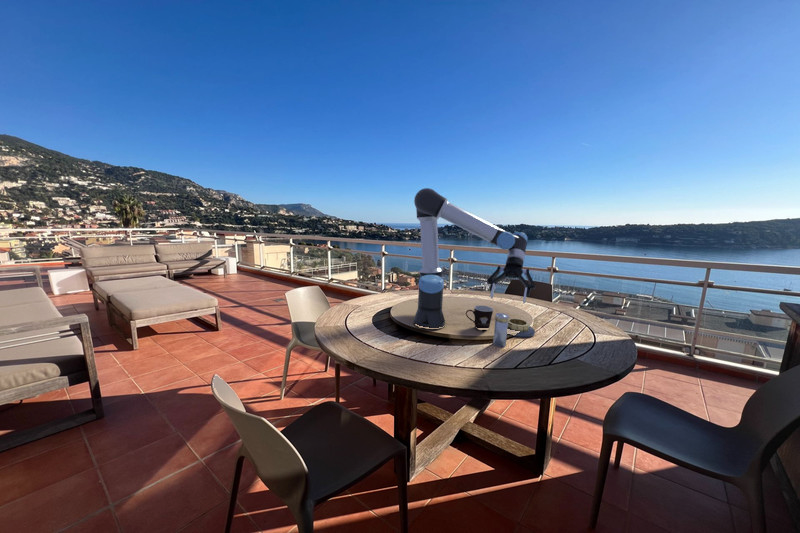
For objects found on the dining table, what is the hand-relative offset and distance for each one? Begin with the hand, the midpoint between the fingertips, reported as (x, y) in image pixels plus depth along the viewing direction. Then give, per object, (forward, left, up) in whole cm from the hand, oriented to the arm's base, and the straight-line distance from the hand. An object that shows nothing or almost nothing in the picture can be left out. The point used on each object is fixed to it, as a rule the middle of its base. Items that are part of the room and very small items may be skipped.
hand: (507, 299), depth 127 cm
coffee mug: (-12, -5, -17) cm, 22 cm away
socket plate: (-3, +10, -17) cm, 20 cm away
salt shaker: (+6, -8, -17) cm, 20 cm away
